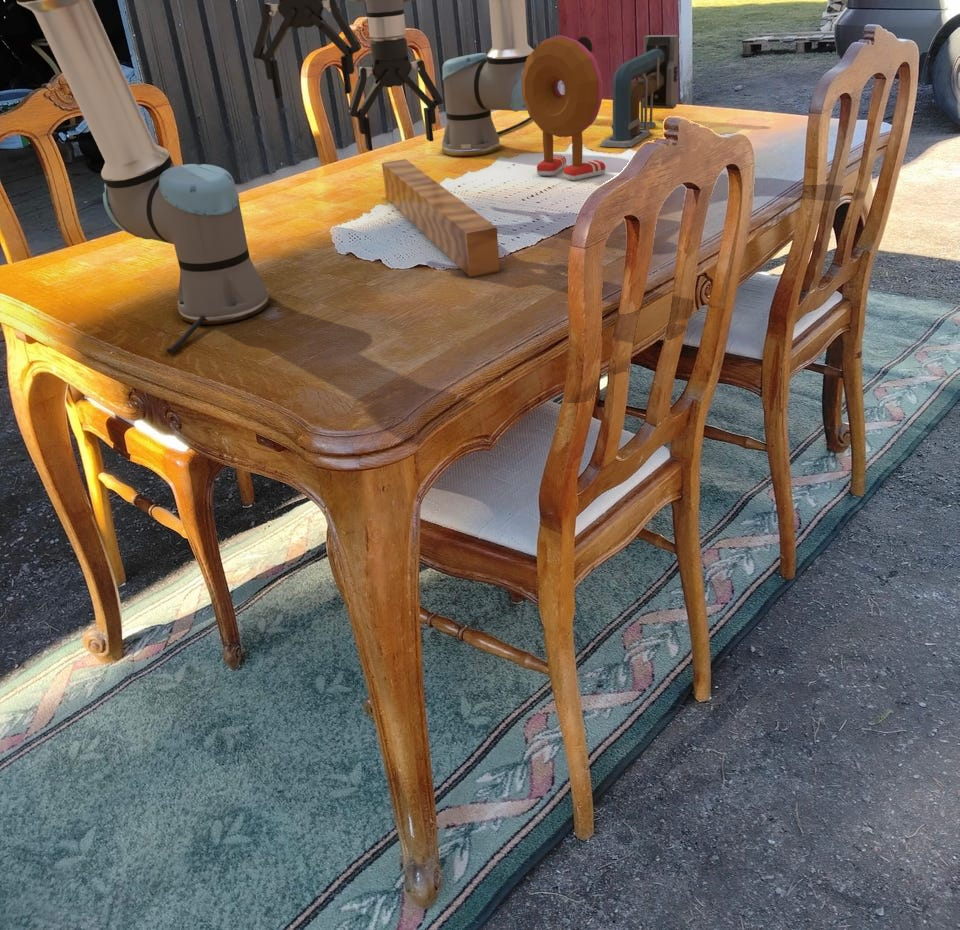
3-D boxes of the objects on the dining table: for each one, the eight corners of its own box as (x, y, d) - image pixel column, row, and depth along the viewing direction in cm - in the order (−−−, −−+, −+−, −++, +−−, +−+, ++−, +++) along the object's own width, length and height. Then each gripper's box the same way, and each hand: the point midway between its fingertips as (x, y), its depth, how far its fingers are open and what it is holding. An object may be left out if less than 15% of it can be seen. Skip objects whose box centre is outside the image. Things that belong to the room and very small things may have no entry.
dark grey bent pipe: (630, 147, 243) (630, 56, 233) (598, 146, 247) (597, 56, 236) (676, 118, 269) (678, 35, 258) (646, 117, 273) (647, 35, 262)
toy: (617, 173, 223) (617, 32, 207) (590, 184, 216) (588, 39, 201) (546, 163, 236) (541, 30, 220) (519, 173, 230) (511, 36, 214)
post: (499, 271, 172) (496, 227, 168) (470, 277, 171) (466, 232, 167) (409, 194, 221) (405, 158, 217) (386, 198, 220) (381, 162, 216)
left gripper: (366, -35, 178) (380, 87, 188) (233, -25, 179) (255, 95, 190) (360, -33, 171) (375, 94, 182) (222, -22, 173) (245, 102, 184)
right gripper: (440, 29, 204) (449, 133, 215) (324, 43, 198) (339, 149, 208) (451, 32, 198) (460, 139, 208) (332, 47, 191) (347, 156, 202)
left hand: (313, 95), depth 186 cm, fingers open, 13 cm apart
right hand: (400, 144), depth 208 cm, fingers open, 13 cm apart
